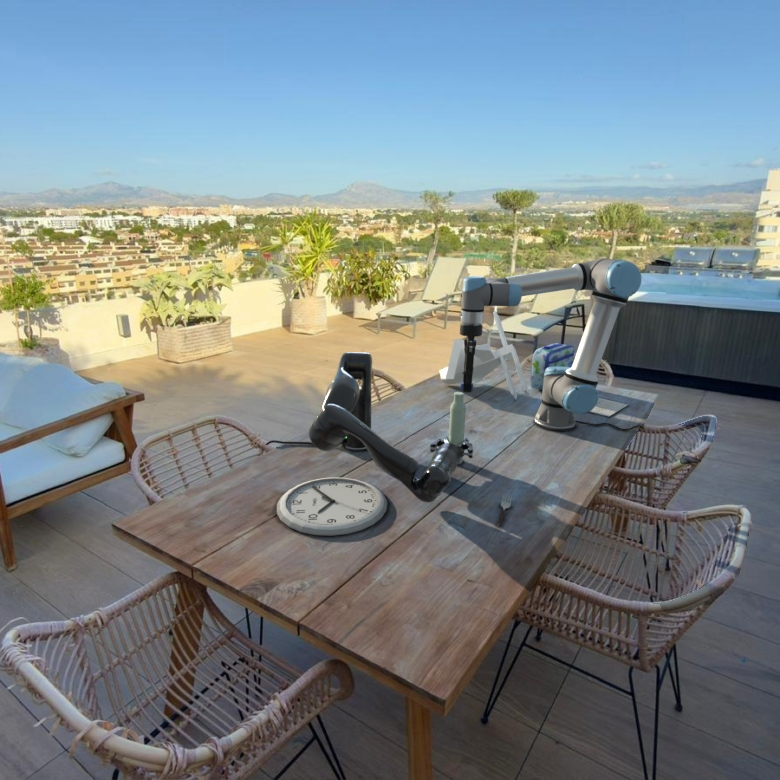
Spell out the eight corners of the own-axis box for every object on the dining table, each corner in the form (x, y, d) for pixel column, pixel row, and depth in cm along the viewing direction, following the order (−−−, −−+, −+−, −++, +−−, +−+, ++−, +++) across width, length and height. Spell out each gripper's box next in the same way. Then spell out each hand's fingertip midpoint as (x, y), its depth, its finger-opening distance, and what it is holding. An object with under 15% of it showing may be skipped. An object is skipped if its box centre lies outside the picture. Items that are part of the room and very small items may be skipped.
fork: (493, 528, 133) (493, 521, 132) (502, 499, 147) (503, 492, 147) (503, 530, 132) (504, 523, 131) (511, 500, 146) (512, 494, 146)
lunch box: (546, 395, 240) (551, 350, 234) (526, 389, 248) (530, 346, 241) (573, 384, 258) (578, 342, 252) (553, 379, 265) (558, 339, 259)
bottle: (458, 465, 168) (462, 396, 161) (444, 462, 170) (448, 393, 163) (464, 460, 172) (469, 392, 165) (451, 456, 174) (455, 390, 167)
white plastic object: (461, 429, 252) (437, 405, 227) (444, 352, 274) (420, 323, 250) (535, 404, 240) (518, 377, 215) (510, 326, 262) (492, 293, 237)
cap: (464, 386, 185) (464, 380, 185) (475, 389, 183) (475, 382, 182) (458, 389, 182) (458, 383, 182) (468, 392, 180) (469, 385, 179)
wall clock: (392, 527, 129) (268, 531, 127) (391, 533, 130) (269, 537, 127) (383, 473, 158) (282, 475, 155) (383, 478, 158) (282, 480, 156)
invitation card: (608, 416, 214) (573, 407, 224) (608, 416, 214) (573, 408, 224) (628, 404, 229) (594, 396, 238) (628, 405, 229) (594, 397, 238)
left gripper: (422, 467, 160) (436, 446, 175) (468, 475, 155) (478, 453, 170) (423, 444, 157) (437, 425, 173) (470, 452, 153) (480, 431, 168)
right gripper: (459, 318, 184) (455, 382, 191) (460, 327, 168) (456, 396, 175) (481, 319, 184) (476, 383, 190) (484, 328, 167) (479, 397, 174)
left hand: (457, 439), depth 171 cm, fingers closed on bottle, 5 cm apart
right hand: (466, 389), depth 183 cm, fingers closed on cap, 4 cm apart
